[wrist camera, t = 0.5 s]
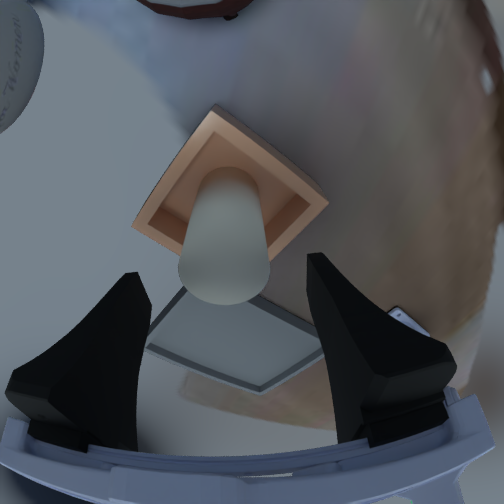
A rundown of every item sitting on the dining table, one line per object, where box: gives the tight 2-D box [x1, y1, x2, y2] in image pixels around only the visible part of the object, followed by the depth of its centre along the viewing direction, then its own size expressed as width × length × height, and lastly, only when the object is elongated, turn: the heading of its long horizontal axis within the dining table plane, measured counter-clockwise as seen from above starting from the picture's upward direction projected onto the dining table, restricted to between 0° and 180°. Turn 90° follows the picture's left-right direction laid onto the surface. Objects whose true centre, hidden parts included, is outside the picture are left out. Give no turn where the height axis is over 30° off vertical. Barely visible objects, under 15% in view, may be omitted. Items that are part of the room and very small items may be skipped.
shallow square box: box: [131, 104, 329, 262], centre depth 19 cm, size 9×9×3 cm
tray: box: [144, 286, 325, 396], centre depth 28 cm, size 16×12×2 cm
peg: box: [178, 167, 270, 305], centre depth 16 cm, size 4×4×8 cm
